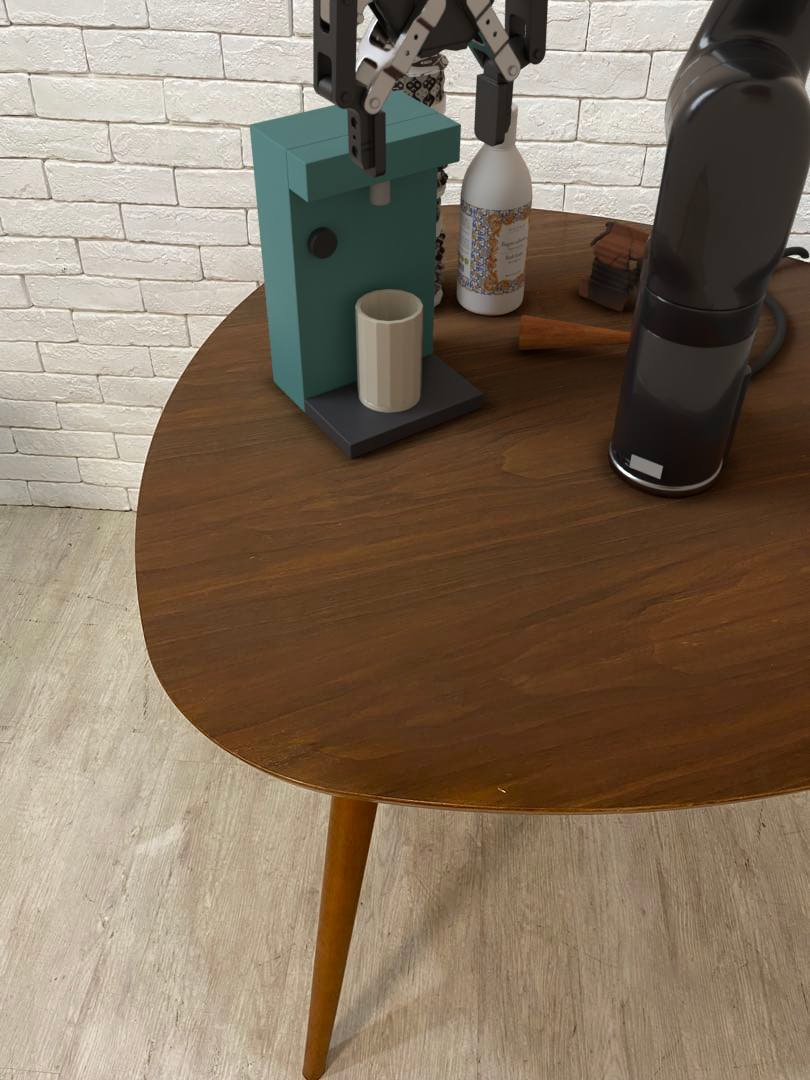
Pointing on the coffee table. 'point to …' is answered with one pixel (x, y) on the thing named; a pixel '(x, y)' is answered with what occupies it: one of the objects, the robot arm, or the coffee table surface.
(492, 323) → the coffee table surface
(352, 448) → the coffee maker
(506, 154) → the bath foam
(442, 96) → the patterned cylindrical canister
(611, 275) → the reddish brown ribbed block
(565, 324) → the wooden cone
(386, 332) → the container
